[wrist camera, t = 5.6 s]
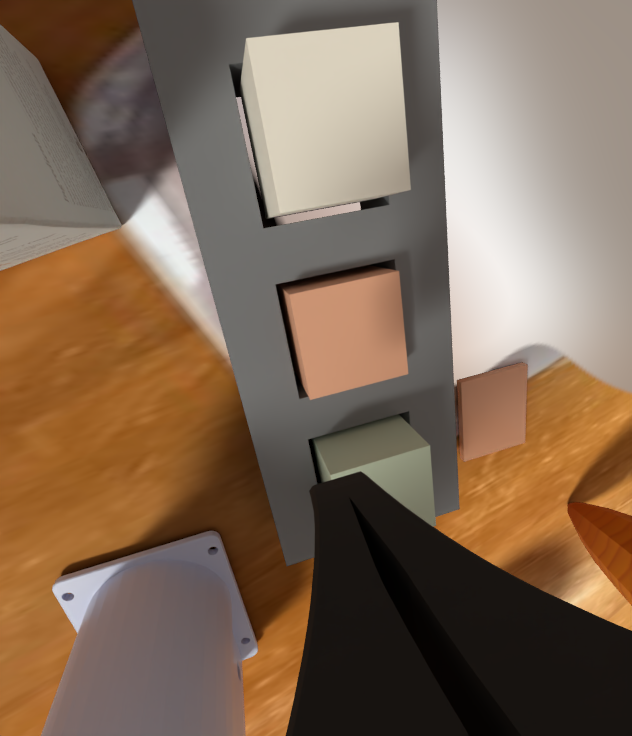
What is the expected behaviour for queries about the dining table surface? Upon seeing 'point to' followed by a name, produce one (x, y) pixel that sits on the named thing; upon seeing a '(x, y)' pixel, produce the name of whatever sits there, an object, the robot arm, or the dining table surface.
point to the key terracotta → (344, 328)
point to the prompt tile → (492, 411)
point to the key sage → (382, 461)
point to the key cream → (326, 117)
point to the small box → (42, 166)
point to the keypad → (309, 238)
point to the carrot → (606, 541)
